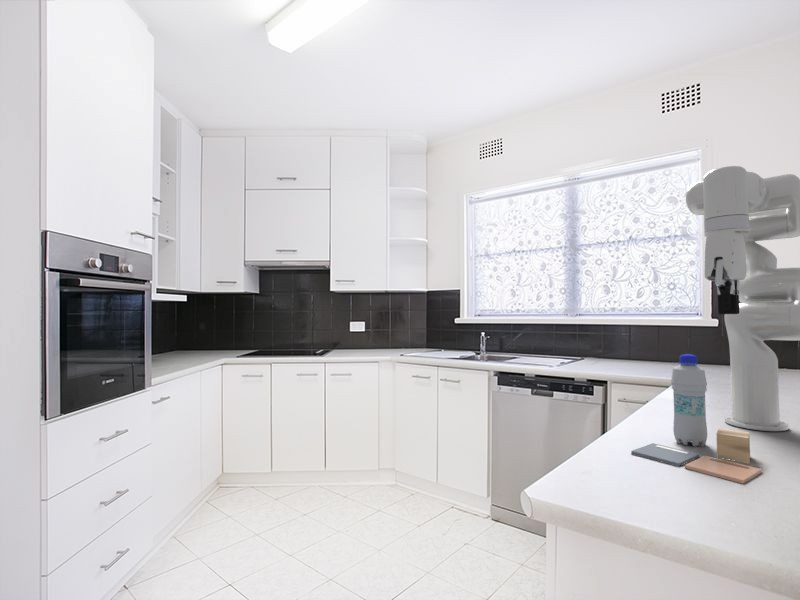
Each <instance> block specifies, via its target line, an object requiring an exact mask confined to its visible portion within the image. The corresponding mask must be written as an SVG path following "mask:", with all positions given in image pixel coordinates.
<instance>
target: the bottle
mask: <svg viewBox="0 0 800 600" xmlns="http://www.w3.org/2000/svg"><path fill="white" fill-rule="evenodd" d="M678 358H679V365H676V366H674V367H672V373H671V380H670V383H671V389H672V390H673V394H672V395H673V427H672V428H673V430H672V431H673V436H674V439H675V441H676V443H677V442H678V443H679V444H683V445H685V446H688V445H689V442H691V443H692V446H693V447H695V446H696V447H698V446H699V445H700V446H699V447H703V446H705V445H706V444H707V439H708V426H707V419H706V418H707V417H706V416H707V414H706V411H707V410H706V409H707V408H706V407H707V406H706V392H707V390H708V388H707V387H708V382H707V377H706V371H705V369H704V368H702V367H700V366H698V357H697V356H696V355H695V354H690V353H685V354H680V356H679V357H678Z"/></svg>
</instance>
